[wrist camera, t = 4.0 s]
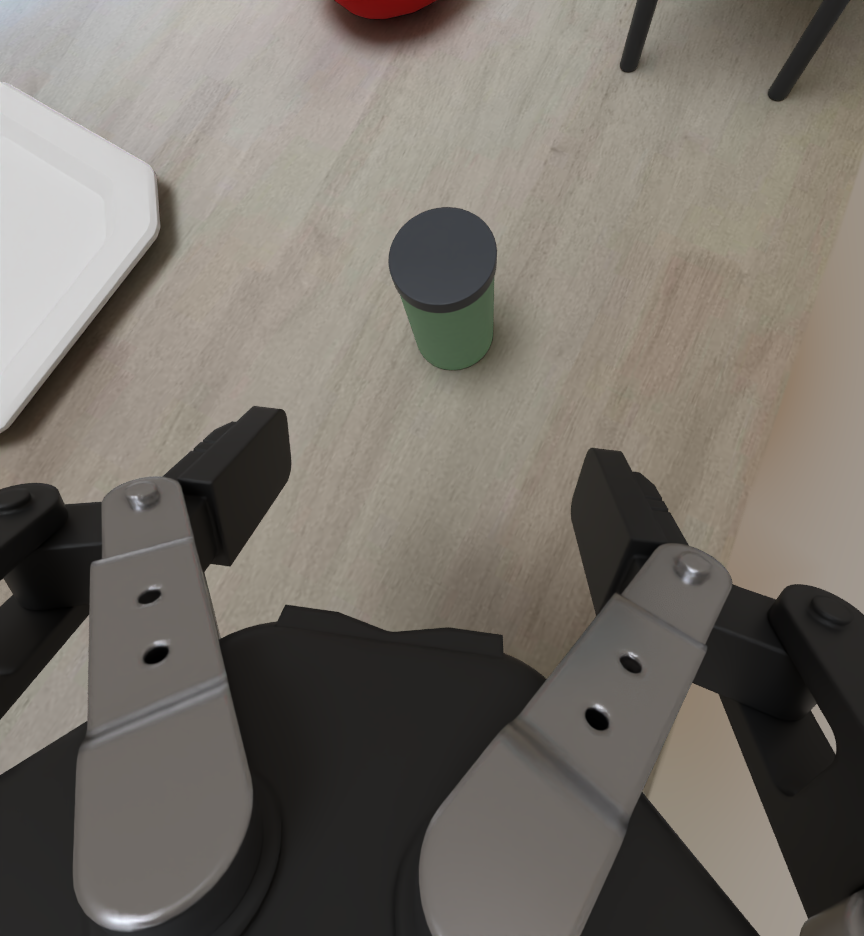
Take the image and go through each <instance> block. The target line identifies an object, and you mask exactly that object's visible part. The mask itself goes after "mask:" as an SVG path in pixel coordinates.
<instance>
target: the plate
mask: <svg viewBox="0 0 864 936" xmlns="http://www.w3.org/2000/svg"><path fill="white" fill-rule="evenodd" d="M159 230H160V215H159V201H158V187H157V176H156V173H155V172H154V170H153V168H152V167H151V166H150V165H149V164H147V163H146V162H144V161H142V160H140V159H139V158H137V157H135V156H134V155H132V154H130V153H128V152H127V151H125V150H123V149H121V148H120V147H118V146H116V145H114V144H113V143H111V142H109V141H108V140H106V139H104V138H102V137H101V136H99V135H97V134H95V133H94V132H92V131H90V130H88V129H87V128H85V127H83V126H82V125H80V124H78V123H76V122H75V121H73V120H71V119H69V118H68V117H66V116H64V115H62V114H61V113H59V112H57V111H55V110H54V109H52V108H50V107H49V106H47V105H45V104H43V103H42V102H40V101H38V100H36V99H35V98H33V97H31V96H29V95H28V94H26V93H24V92H23V91H21V90H19V89H17V88H16V87H14V86H12V85H10V84H9V83H7V82H0V433H2V432H3V431H5V430H6V429H8V428H9V427H10V426H11V424H12V423H13V422H14V421H15V419H16V418H17V417H18V415H19V414H20V413H21V412H22V410H23V409H24V408H25V406H26V405H27V404H28V403H29V401H30V400H31V399H32V397H33V396H34V395H35V394H36V392H37V391H38V390H39V388H40V387H41V386H42V385H43V383H44V382H45V381H46V379H47V378H48V377H49V376H50V374H51V373H52V372H53V371H54V369H55V368H56V367H57V365H58V364H59V363H60V362H61V360H62V359H63V358H64V356H65V355H66V354H67V353H68V351H69V350H70V349H71V347H72V346H73V345H74V344H75V342H76V341H77V340H78V338H79V337H80V336H81V335H82V333H83V332H84V331H85V329H86V328H87V327H88V326H89V324H90V323H91V322H92V320H93V319H94V318H95V317H96V315H97V314H98V313H99V311H100V310H101V309H102V308H103V306H104V305H105V304H106V303H107V301H108V300H109V299H110V297H111V296H112V295H113V294H114V292H115V291H116V290H117V288H118V287H119V286H120V285H121V283H122V282H123V281H124V279H125V278H126V277H127V276H128V274H129V273H130V272H131V270H132V269H133V268H134V267H135V265H136V264H137V263H138V261H139V260H140V259H141V258H142V256H143V255H144V254H145V252H146V251H147V250H148V249H149V247H150V246H151V245H152V244H153V242H154V241H155V240H156V238H157V236H158V233H159Z"/></svg>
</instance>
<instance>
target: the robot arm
mask: <svg viewBox="0 0 864 936" xmlns="http://www.w3.org/2000/svg"><path fill="white" fill-rule="evenodd" d="M290 471H291V452H290V442H289V433H288V423H287V416H286V413H285V411H284V410H282V409H275V408H267V407H259V406H253V407H252V408H251V409H250V410H249V411H247V412H246V413H245V414H244V415H243V416H242V417H241V418H240V419H239V420H238V421H237V422H230V423H228V424H226V425H224V426H222V427H219V428H217V429H215V430H214V431H213V432H212V433H210V434H209V435H208V436H207V437H206V438H205V439H204V440H203V442H200V443H199V444H198V445H197V446H196V447H195V448H194V451H190V452H189V453H188V454H187V455H186V456H185V457H184V458H183V459H182V460H180V461H179V462H178V463H177V464H176V465H175V466H174V467H173V468H172V469H170V470H169V471H168V472H167V473H166V474H165V475H164V476H163V477H144V478H139V479H135V480H132V481H128V482H126V483H123V484H121V485H119V486H117V487H116V488H114V489H113V490H111V491H110V492H109V493H108V494H107V495H106V496H105V497H104V499H103V501H102V502H92V503H79V504H64V502H63V500H62V498H61V495H60V493H59V491H58V489H57V488H56V487H54V486H52V485H49V484H44V483H27V484H20V485H15V486H10V487H7V488H3V489H0V580H2V579H3V578H4V580H5V582H6V583H7V585H8V587H9V588H10V590H11V591H12V593H13V595H12V596H11V597H10V598H9V599H8V600H7V601H6V602H5V603H4V604H3V605H2V606H1V607H0V719H1V718H2V717H3V716H4V715H5V713H6V712H7V711H8V710H9V709H10V708H11V706H12V705H13V704H14V703H15V702H16V700H17V699H18V698H19V697H20V696H21V695H22V693H23V692H24V691H25V690H26V689H27V687H28V686H29V685H30V684H31V683H32V682H33V680H34V679H35V678H36V677H37V676H38V674H39V673H40V672H41V671H42V670H43V668H44V667H45V666H46V665H47V664H48V663H49V661H50V660H51V659H52V658H53V657H54V655H55V654H56V653H57V652H58V651H59V650H60V648H61V647H62V646H63V645H64V644H65V642H66V641H67V640H68V639H69V638H70V636H71V635H72V634H73V633H74V632H75V631H76V629H77V628H78V627H79V626H80V625H81V623H82V622H83V621H84V620H85V619H86V618H87V616H88V615H89V667H88V721H86V722H85V723H83V724H82V725H80V726H78V727H77V728H75V729H74V730H72V731H70V732H69V733H67V734H66V735H64V736H62V737H61V738H59V739H58V740H56V741H54V742H53V743H51V744H50V745H48V746H46V747H45V748H43V749H42V750H40V751H38V752H37V753H35V754H33V755H32V756H30V757H29V758H27V759H25V760H24V761H22V762H21V763H19V764H17V765H16V766H14V767H13V768H11V769H9V770H8V771H6V772H5V773H3V774H1V775H0V936H760V935H759V934H758V933H757V931H756V930H755V929H754V928H753V927H752V925H751V924H750V923H749V922H748V920H747V919H746V918H745V917H744V916H743V914H742V913H741V912H740V911H739V909H738V908H737V907H736V906H735V905H734V903H732V901H731V900H730V899H729V897H728V896H727V895H726V894H725V892H724V891H723V890H722V889H721V888H720V886H719V885H718V884H717V883H716V881H715V880H714V879H713V878H712V877H711V875H710V874H709V873H708V872H707V870H706V869H705V868H704V867H703V866H702V864H701V863H700V862H699V861H698V860H697V858H696V857H695V856H694V855H693V853H692V852H691V851H690V850H689V849H688V847H687V846H686V845H685V844H684V842H683V841H682V840H681V839H680V838H679V836H678V835H677V834H676V833H675V832H674V830H673V829H672V828H671V827H670V826H669V824H668V823H667V822H666V820H665V819H664V818H663V817H662V816H661V814H660V813H659V812H658V811H657V809H656V808H655V807H654V806H653V805H652V803H651V802H650V801H649V800H648V798H647V797H646V796H645V795H644V794H643V792H642V790H643V788H644V786H645V784H646V782H647V779H648V777H649V775H650V773H651V771H652V769H653V766H654V764H655V762H656V760H657V758H658V755H659V753H660V751H661V749H662V747H663V745H664V742H665V740H666V738H667V736H668V734H669V732H670V729H671V727H672V725H673V723H674V721H675V719H676V716H677V714H678V712H679V710H680V708H681V706H682V703H683V701H684V699H685V697H686V695H687V693H688V690H689V688H690V686H691V684H692V683H694V684H696V685H699V686H701V687H703V688H706V689H708V690H711V691H713V692H715V693H718V694H719V696H720V699H721V701H722V704H723V706H724V709H725V711H726V714H727V716H728V719H729V721H730V724H731V726H732V729H733V731H734V734H735V736H736V739H737V741H738V744H739V746H740V748H741V751H742V754H743V756H744V759H745V761H746V764H747V766H748V769H749V771H750V773H751V776H752V779H753V782H754V784H755V786H756V789H757V792H758V794H759V797H760V799H761V802H762V804H763V806H764V809H765V812H766V814H767V816H768V819H769V822H770V824H771V827H772V829H773V832H774V834H775V837H776V839H777V841H778V844H779V847H780V849H781V852H782V854H783V857H784V859H785V862H786V864H787V866H788V869H789V872H790V874H791V877H792V879H793V882H794V884H795V887H796V889H797V892H798V894H799V897H800V899H801V902H802V904H803V907H804V909H805V912H806V914H807V917H808V920H807V921H806V922H805V923H804V925H803V927H802V928H801V932H800V936H864V615H863V614H862V613H861V612H860V611H859V610H857V609H856V608H855V607H854V606H852V605H851V604H849V603H848V602H846V601H844V600H843V599H841V598H839V597H838V596H836V595H834V594H832V593H830V592H827V591H825V590H822V589H819V588H816V587H813V586H808V585H801V584H797V585H796V584H795V585H790V586H787V587H786V588H785V589H784V590H783V591H782V592H781V594H780V595H779V597H778V598H777V599H776V600H775V599H773V598H770V597H767V596H763V595H761V594H758V593H755V592H752V591H749V590H746V589H744V588H741V587H738V586H735V585H733V584H732V579H731V576H730V574H729V572H728V571H727V570H726V568H725V567H724V566H723V565H722V564H721V563H720V562H719V561H717V560H716V559H715V558H713V557H712V556H710V555H709V554H707V553H705V552H703V551H701V550H699V549H697V548H694V547H691V546H689V545H688V543H687V542H686V540H685V538H684V536H683V535H682V533H681V531H680V529H679V527H678V526H677V524H676V522H675V520H674V519H673V517H672V515H671V513H670V512H668V508H667V506H666V505H665V503H664V501H662V497H661V496H660V494H659V492H658V490H657V489H656V487H655V485H654V484H653V483H651V482H650V481H649V480H648V479H647V478H645V477H644V476H643V475H642V474H641V473H639V472H632V470H631V468H630V466H629V464H628V463H627V461H626V459H625V457H624V455H623V453H622V452H621V451H614V450H606V449H598V448H590V449H589V450H588V452H587V454H586V457H585V460H584V463H583V466H582V469H581V473H580V476H579V479H578V482H577V485H576V488H575V492H574V495H573V498H572V504H571V520H572V524H573V528H574V532H575V535H576V539H577V543H578V547H579V551H580V555H581V559H582V563H583V566H584V570H585V574H586V578H587V582H588V586H589V590H590V593H591V597H592V601H593V605H594V609H595V613H596V617H595V619H594V620H593V621H592V623H591V624H590V625H589V626H588V628H587V629H586V630H585V631H584V633H583V634H582V635H581V637H580V638H579V639H578V640H577V642H576V643H575V644H574V645H573V647H572V648H571V649H570V651H569V652H568V653H567V654H566V656H565V657H564V658H563V659H562V661H561V662H560V663H559V665H558V666H557V667H556V668H555V670H554V671H553V672H552V673H551V675H550V676H549V677H548V679H546V678H545V677H544V676H542V675H541V674H540V673H539V672H537V671H536V670H535V669H533V668H532V667H530V666H528V665H527V664H525V663H524V662H522V661H520V660H518V659H516V658H514V657H512V656H510V655H507V654H505V653H503V635H499V634H492V633H485V632H477V631H470V630H463V629H456V628H449V627H448V628H436V629H424V630H412V631H400V632H390V631H386V630H383V629H380V628H378V627H375V626H373V625H370V624H368V623H365V622H362V621H360V620H357V619H355V618H352V617H350V616H347V615H344V614H342V613H339V612H334V611H327V610H320V609H313V608H306V607H298V606H291V605H285V607H284V609H283V611H282V613H281V615H280V617H279V619H278V621H277V622H270V623H265V624H259V625H255V626H252V627H248V628H245V629H242V630H239V631H237V632H234V633H232V634H229V635H227V636H225V637H223V638H221V637H220V633H219V629H218V625H217V621H216V617H215V613H214V609H213V605H212V601H211V597H210V593H209V589H208V585H207V581H206V577H205V573H204V572H205V570H206V569H207V568H208V566H209V565H210V564H216V565H223V566H231V565H232V563H233V562H234V560H235V559H236V557H237V556H238V554H239V553H240V551H241V550H242V548H243V547H244V545H245V544H246V542H247V541H248V539H249V538H250V536H251V535H252V533H253V532H254V531H255V529H256V528H257V526H258V525H259V523H260V522H261V520H262V519H263V517H264V516H265V514H266V513H267V511H268V510H269V508H270V507H271V505H272V504H273V502H274V501H275V499H276V498H277V496H278V495H279V493H280V492H281V490H282V489H283V487H284V486H285V484H286V483H287V481H288V479H289V475H290ZM816 704H818V706H819V708H820V710H821V711H822V713H823V715H824V716H825V718H826V720H827V722H828V723H829V725H830V727H831V729H832V731H833V733H834V736H835V740H836V755H835V753H834V751H833V749H832V747H831V746H830V744H829V742H828V740H827V739H826V737H825V735H824V733H823V731H822V730H821V728H820V726H819V724H818V723H817V721H816V719H815V717H814V715H813V714H812V712H811V709H812V708H813V707H814V706H815V705H816Z"/></svg>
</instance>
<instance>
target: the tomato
mask: <svg viewBox="0 0 864 936" xmlns="http://www.w3.org/2000/svg"><path fill="white" fill-rule="evenodd" d="M335 1H336V2H337V3H339V4H340V5H341V6H343V7H344V8H346V9H347V10H348V11H350V12H351V13H353V14H355V15H358V16H361V17H364V18H368V19H387V18H391V17H396V16H400V15H405V14H409V13H414V12H415V11H417V10H419V9H421V8H423V7H425V6H427V5H429V4H431V3H433V2H435V1H437V0H335Z"/></svg>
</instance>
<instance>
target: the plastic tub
mask: <svg viewBox="0 0 864 936" xmlns="http://www.w3.org/2000/svg"><path fill="white" fill-rule="evenodd" d="M496 264H497V247H496V242H495V238H494V236H493V234H492V232H491V230H490V228H489V227H488V226H487V225H486V223H485V222H484V221H483V220H482V219H480V218H479V217H478V216H476V215H475V214H473V213H471V212H469V211H466V210H463V209H459V208H452V207H442V208H435V209H431V210H428V211H425V212H423V213H420V214H419V215H417V216H415V217H413V218H412V219H411V220H409V221H408V222H407V223H406V224H405V225H404V226H403V227H402V228H401V229H400V230H399V232H398V233H397V234H396V236H395V238H394V240H393V242H392V245H391V247H390V252H389V270H390V274H391V277H392V279H393V282H394V285H395V287H396V289H397V291H398V293H399V294H400V296H401V299H402V302H403V305H404V308H405V311H406V314H407V316H408V319H409V322H410V325H411V328H412V331H413V334H414V337H415V340H416V342H417V345H418V348H419V350H420V352H421V354H422V355H423V357H424V358H425V359H426V360H427V361H428V362H430V363H431V364H433V365H434V366H436V367H439V368H442V369H447V370H459V369H463V368H467V367H469V366H471V365H473V364H475V363H476V362H478V361H479V360H480V359H481V358H482V357H483V356H484V355H485V354H486V352H487V351H488V349H489V347H490V345H491V342H492V338H493V312H494V275H495V271H496Z"/></svg>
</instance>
